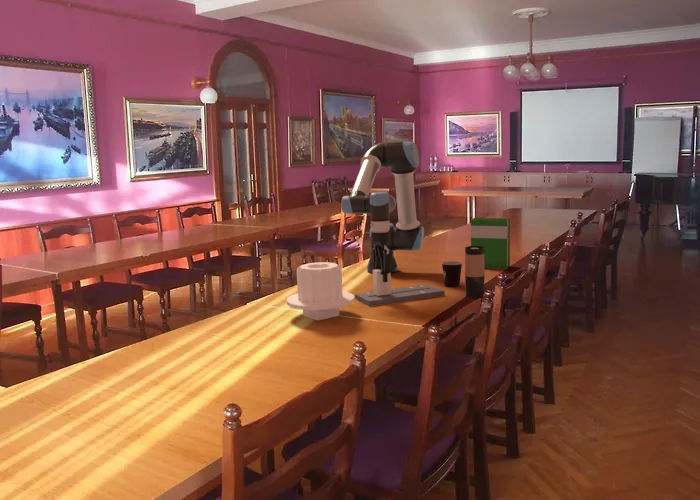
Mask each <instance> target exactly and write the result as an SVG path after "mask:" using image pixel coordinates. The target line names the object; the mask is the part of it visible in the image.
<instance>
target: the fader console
mask: <svg viewBox="0 0 700 500" xmlns="http://www.w3.org/2000/svg"><path fill="white" fill-rule="evenodd" d="M444 296H445V290H444V289H442V288H439V287H436V286H434V285H431V284H428V283H427V284H420V285H411V286H405V287H397V288H391V294H388V295H381V296H377V295H374V294H373V291H368V292H360V293H355V294H354V300H356V301H358V302H360V303H363V304H364V305H366V306H368V307H374V306H375V307H376V306H379V305H380V306H381V305H386V304H388V305H389V304H395V303H401V302H403V303H404V302H408V301H416V300H421V299H429V298H430V299H431V298H437V297H444Z"/></svg>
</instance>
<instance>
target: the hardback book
mask: <svg viewBox="0 0 700 500" xmlns="http://www.w3.org/2000/svg"><path fill="white" fill-rule="evenodd" d="M470 246H482V247H484V269H498V270H507V269H508V267H511V218H509V217H508V218H507V217H503V218H502V217H499V218H498V217H473V218H471V219H470Z"/></svg>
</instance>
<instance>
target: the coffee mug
mask: <svg viewBox="0 0 700 500" xmlns="http://www.w3.org/2000/svg"><path fill="white" fill-rule="evenodd" d="M441 265H442V266H441V267H442V277H443V281H444V286H445V287H446V288H457V287H460V284H461V276H462V275H461V274H462V266H463V262H461V261H452V260H451V261H450V260H449V261H443V262H441Z"/></svg>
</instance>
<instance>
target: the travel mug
mask: <svg viewBox="0 0 700 500" xmlns="http://www.w3.org/2000/svg"><path fill="white" fill-rule="evenodd" d="M464 252H465V255H464V259H465V260H464V264H465V265H464V273H465V274H464V280H465V296H466V297H467V298H471V299H479V298H484V296H483V294H484V295H485V268H484V247H482V246H471V245H469V246H466V247H465V249H464Z"/></svg>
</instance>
